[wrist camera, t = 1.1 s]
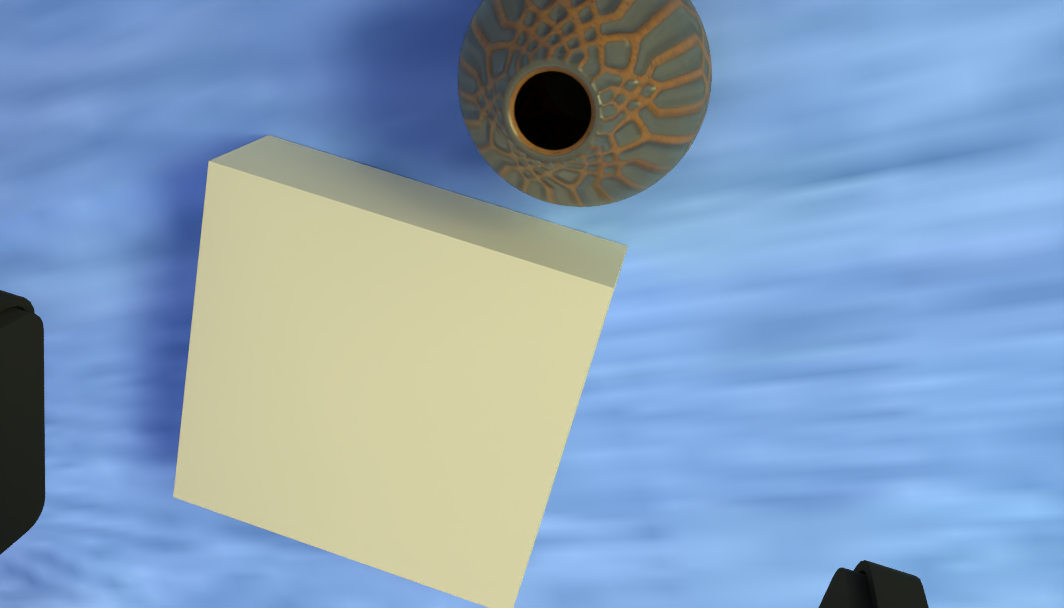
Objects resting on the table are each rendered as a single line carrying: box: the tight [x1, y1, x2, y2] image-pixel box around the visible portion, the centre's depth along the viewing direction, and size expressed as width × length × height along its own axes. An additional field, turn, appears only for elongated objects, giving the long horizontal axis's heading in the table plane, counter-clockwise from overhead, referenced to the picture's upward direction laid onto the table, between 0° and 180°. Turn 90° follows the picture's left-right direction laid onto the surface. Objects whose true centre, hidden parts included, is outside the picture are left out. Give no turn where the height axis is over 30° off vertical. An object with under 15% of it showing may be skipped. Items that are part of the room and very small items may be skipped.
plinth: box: [173, 135, 628, 608], centre depth 32 cm, size 13×13×4 cm
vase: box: [458, 0, 712, 207], centre depth 25 cm, size 7×7×9 cm
